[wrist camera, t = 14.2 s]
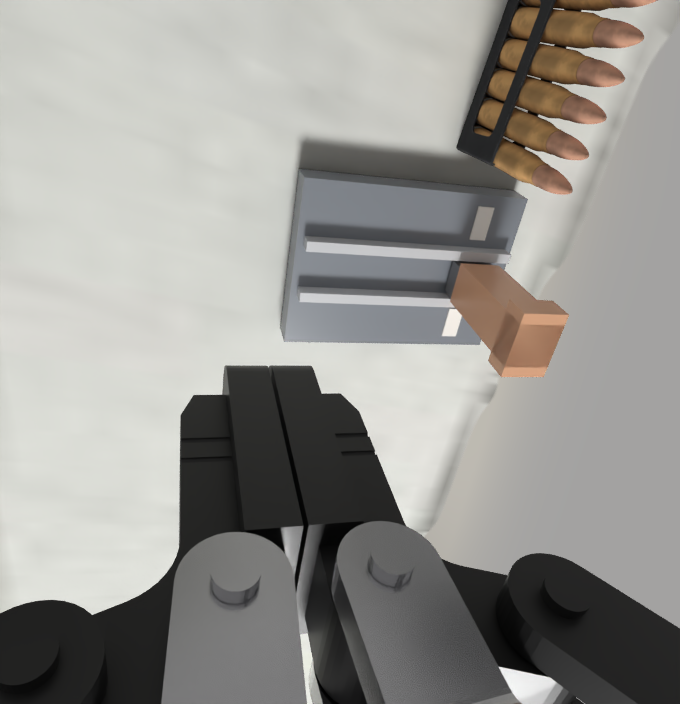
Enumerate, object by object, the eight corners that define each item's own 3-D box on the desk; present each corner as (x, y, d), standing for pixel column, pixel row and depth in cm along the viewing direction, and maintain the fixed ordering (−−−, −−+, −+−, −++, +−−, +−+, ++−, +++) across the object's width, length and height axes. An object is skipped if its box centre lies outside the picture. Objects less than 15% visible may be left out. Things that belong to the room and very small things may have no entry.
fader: (456, 247, 40) (524, 313, 32) (494, 249, 41) (569, 315, 33) (441, 302, 42) (501, 376, 35) (477, 303, 43) (543, 376, 35)
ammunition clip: (520, -34, 34) (658, -39, 24) (545, -24, 34) (691, -25, 24) (455, 149, 39) (547, 206, 29) (479, 154, 39) (577, 212, 29)
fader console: (299, 168, 37) (307, 182, 34) (514, 190, 41) (534, 203, 39) (280, 327, 43) (286, 348, 41) (469, 332, 47) (484, 351, 45)
